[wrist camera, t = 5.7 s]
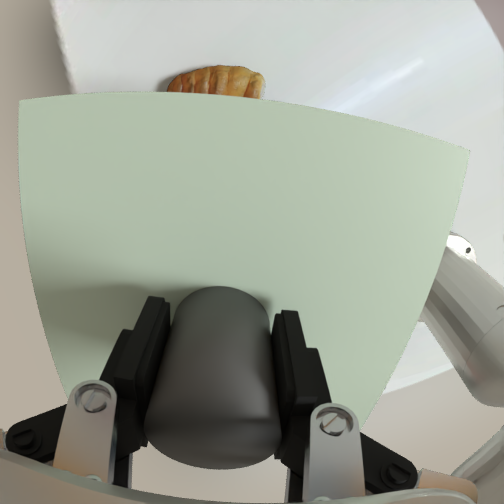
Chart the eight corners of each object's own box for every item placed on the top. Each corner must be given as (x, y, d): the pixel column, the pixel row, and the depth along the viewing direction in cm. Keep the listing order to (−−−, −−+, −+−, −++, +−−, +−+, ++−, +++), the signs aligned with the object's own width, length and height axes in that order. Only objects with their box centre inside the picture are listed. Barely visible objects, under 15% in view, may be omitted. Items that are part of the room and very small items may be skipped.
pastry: (165, 127, 30) (154, 128, 27) (173, 63, 28) (164, 57, 24) (257, 136, 31) (258, 138, 27) (267, 71, 28) (269, 65, 25)
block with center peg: (390, 131, 16) (573, 188, 5) (330, 360, 22) (371, 513, 11) (99, 99, 15) (-88, 115, 4) (110, 338, 21) (47, 484, 10)
